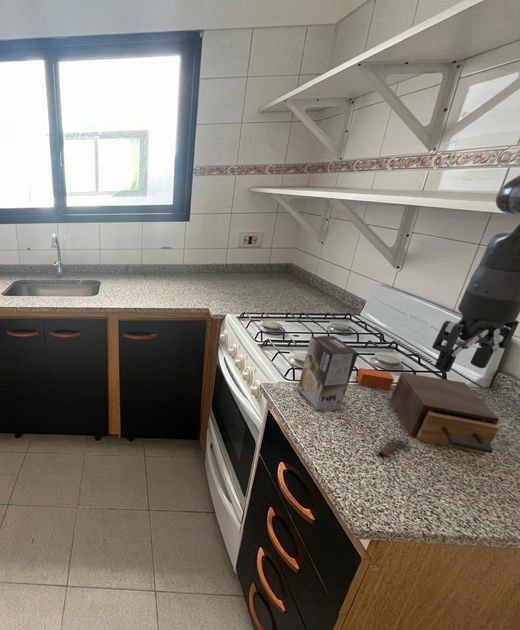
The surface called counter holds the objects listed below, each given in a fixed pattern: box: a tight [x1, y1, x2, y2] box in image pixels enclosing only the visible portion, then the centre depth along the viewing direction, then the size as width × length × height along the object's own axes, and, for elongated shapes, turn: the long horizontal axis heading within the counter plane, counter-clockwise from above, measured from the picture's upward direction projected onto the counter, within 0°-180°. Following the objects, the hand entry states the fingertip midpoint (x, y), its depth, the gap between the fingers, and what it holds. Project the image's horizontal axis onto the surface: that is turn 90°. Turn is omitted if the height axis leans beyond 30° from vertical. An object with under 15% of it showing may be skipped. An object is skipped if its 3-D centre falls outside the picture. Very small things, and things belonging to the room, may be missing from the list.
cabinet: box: [389, 372, 500, 439], centre depth 79 cm, size 14×12×9 cm
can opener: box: [378, 439, 408, 458], centre depth 74 cm, size 9×2×1 cm, turn 112°
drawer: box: [416, 409, 500, 455], centre depth 75 cm, size 17×11×7 cm, turn 158°
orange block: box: [355, 367, 395, 391], centre depth 94 cm, size 7×3×3 cm, turn 68°
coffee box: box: [297, 335, 359, 411], centre depth 86 cm, size 9×6×16 cm
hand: (459, 368), depth 69 cm, fingers open, 8 cm apart
